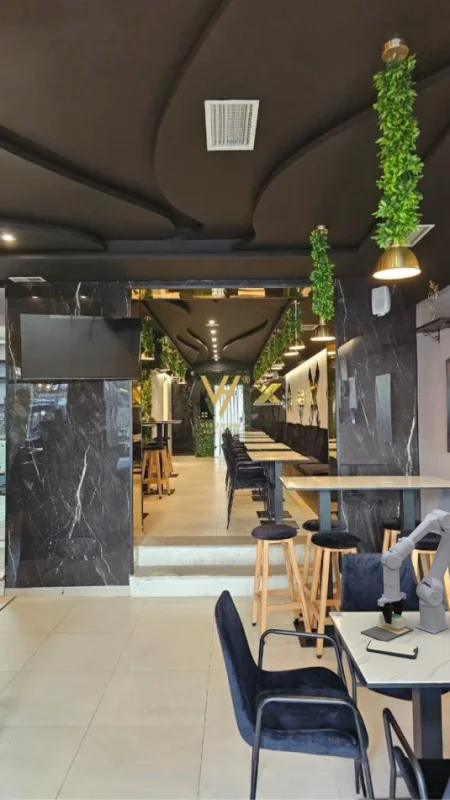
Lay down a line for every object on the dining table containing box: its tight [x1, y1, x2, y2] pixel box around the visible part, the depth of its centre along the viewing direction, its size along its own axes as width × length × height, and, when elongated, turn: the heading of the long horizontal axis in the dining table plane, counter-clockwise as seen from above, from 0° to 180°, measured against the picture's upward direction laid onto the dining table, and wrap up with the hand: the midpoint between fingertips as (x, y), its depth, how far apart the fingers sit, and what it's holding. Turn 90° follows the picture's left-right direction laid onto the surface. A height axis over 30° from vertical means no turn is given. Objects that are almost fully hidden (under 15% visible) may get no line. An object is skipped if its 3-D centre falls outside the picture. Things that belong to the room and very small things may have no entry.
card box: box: [378, 612, 407, 629], centre depth 193 cm, size 8×5×3 cm, turn 37°
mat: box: [360, 623, 414, 642], centre depth 191 cm, size 17×10×1 cm, turn 126°
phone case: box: [365, 639, 419, 660], centre depth 176 cm, size 9×2×16 cm
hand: (392, 621), depth 193 cm, fingers closed on card box, 5 cm apart
